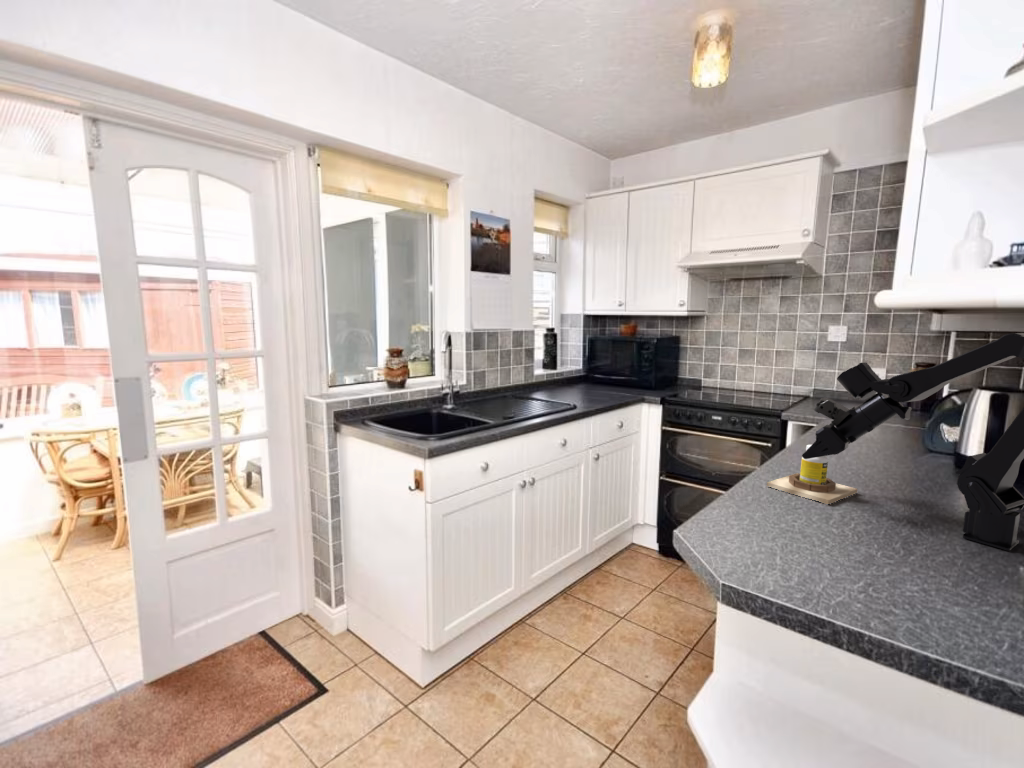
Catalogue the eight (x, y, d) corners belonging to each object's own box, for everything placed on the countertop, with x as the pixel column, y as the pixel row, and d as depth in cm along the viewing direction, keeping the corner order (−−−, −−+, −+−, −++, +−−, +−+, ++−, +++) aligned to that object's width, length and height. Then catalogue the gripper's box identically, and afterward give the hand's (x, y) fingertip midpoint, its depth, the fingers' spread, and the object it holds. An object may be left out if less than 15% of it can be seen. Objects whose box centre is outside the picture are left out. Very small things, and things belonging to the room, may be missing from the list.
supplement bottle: (824, 491, 114) (828, 450, 113) (797, 486, 117) (801, 446, 116) (826, 485, 118) (830, 445, 117) (800, 480, 122) (804, 442, 120)
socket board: (856, 493, 116) (858, 482, 116) (828, 505, 109) (829, 493, 108) (796, 477, 128) (797, 467, 128) (766, 487, 120) (767, 476, 120)
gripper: (850, 383, 119) (795, 421, 128) (831, 391, 105) (772, 432, 115) (886, 420, 114) (827, 456, 123) (872, 433, 101) (807, 472, 110)
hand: (808, 453), depth 118 cm, fingers open, 9 cm apart
